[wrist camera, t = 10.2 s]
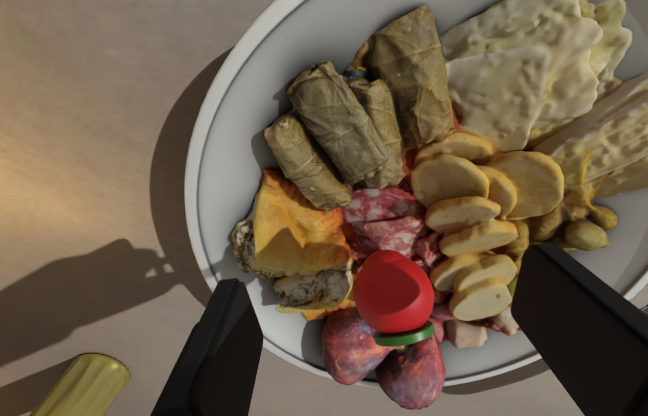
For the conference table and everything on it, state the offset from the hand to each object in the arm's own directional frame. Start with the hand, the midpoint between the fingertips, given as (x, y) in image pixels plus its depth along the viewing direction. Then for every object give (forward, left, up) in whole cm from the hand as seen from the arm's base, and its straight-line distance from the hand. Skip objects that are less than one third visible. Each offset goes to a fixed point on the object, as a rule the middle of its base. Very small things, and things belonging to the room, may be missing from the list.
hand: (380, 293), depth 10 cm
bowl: (+3, +4, -12) cm, 13 cm away
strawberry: (+2, +1, -5) cm, 6 cm away
